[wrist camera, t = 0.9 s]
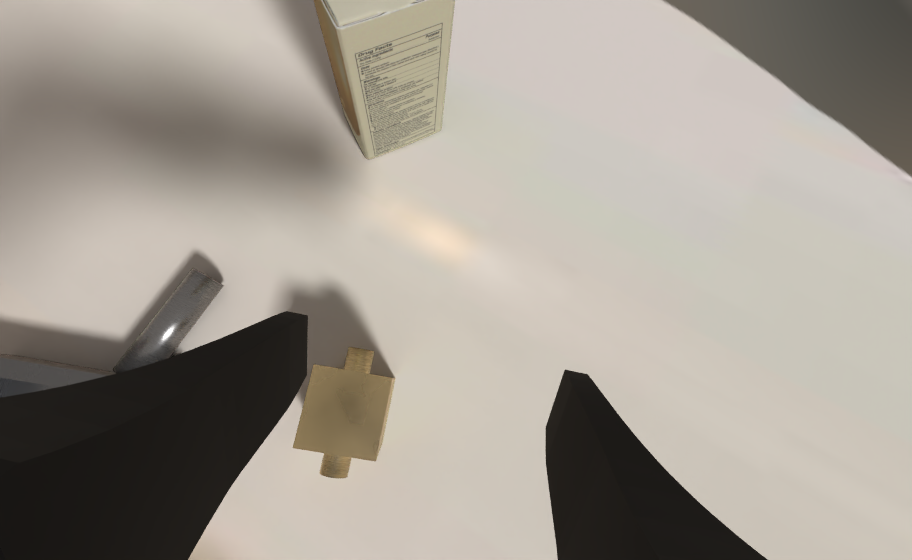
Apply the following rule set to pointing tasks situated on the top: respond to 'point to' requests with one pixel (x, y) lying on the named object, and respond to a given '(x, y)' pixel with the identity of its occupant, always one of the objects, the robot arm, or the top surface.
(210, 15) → the top surface
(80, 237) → the top surface
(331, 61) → the skincare box
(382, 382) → the brass block with pegs
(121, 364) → the steel shaft
